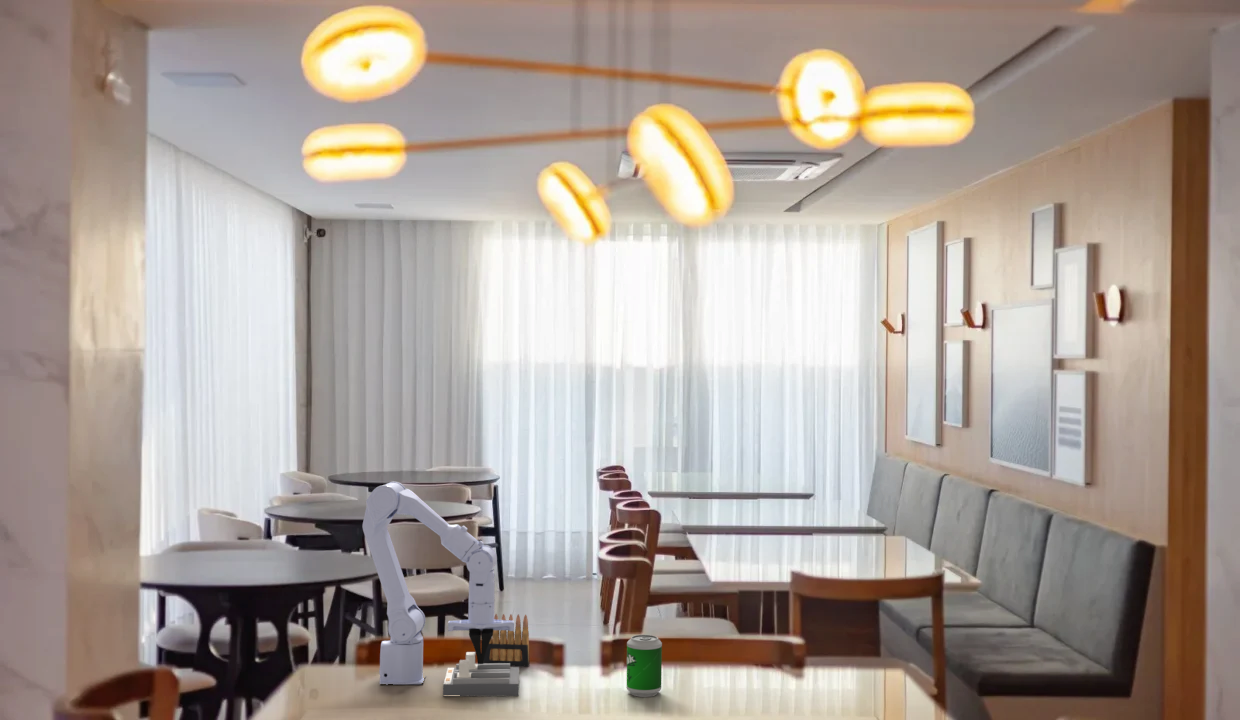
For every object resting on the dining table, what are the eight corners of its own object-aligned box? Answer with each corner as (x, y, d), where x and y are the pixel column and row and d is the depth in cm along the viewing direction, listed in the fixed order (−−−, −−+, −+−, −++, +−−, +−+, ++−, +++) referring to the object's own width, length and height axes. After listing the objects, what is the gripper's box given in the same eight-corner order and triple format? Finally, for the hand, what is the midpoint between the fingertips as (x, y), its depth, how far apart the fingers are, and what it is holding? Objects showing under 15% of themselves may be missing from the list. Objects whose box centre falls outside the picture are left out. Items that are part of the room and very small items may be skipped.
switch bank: (443, 696, 254) (443, 679, 254) (447, 678, 268) (447, 663, 268) (518, 695, 255) (518, 679, 255) (518, 678, 269) (519, 662, 269)
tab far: (463, 672, 263) (463, 655, 263) (464, 668, 266) (464, 651, 266) (476, 672, 263) (477, 655, 263) (477, 668, 266) (477, 651, 266)
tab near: (456, 681, 256) (456, 663, 256) (457, 676, 259) (457, 659, 259) (470, 680, 256) (470, 663, 256) (471, 676, 259) (471, 659, 259)
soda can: (665, 690, 260) (666, 635, 260) (655, 699, 253) (655, 643, 253) (632, 687, 263) (633, 632, 263) (621, 696, 256) (622, 639, 256)
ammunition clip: (529, 664, 281) (530, 613, 281) (528, 666, 279) (529, 615, 279) (484, 663, 282) (485, 612, 282) (483, 665, 280) (483, 614, 280)
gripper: (447, 605, 260) (446, 667, 260) (514, 605, 261) (513, 667, 261) (449, 599, 267) (448, 659, 267) (514, 598, 268) (513, 659, 268)
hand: (480, 663), depth 265 cm, fingers closed
